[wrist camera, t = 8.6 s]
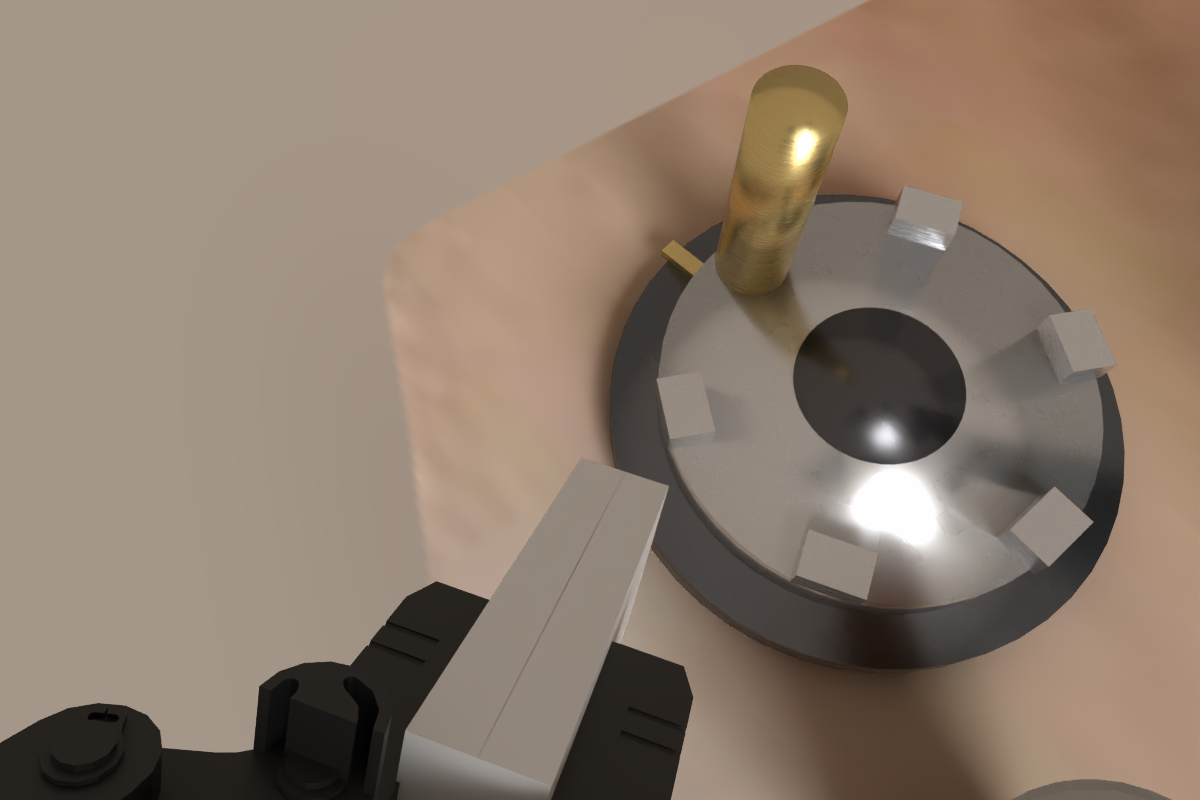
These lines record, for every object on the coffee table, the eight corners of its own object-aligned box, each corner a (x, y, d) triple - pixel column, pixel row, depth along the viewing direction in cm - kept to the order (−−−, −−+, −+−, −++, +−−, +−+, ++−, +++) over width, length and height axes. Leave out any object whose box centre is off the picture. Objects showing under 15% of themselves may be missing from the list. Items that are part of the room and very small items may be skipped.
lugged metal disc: (1167, 428, 37) (1404, 283, 26) (877, 716, 33) (1017, 687, 22) (855, 162, 43) (943, -50, 32) (569, 378, 38) (557, 217, 27)
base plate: (1129, 284, 42) (1152, 263, 40) (1073, 752, 34) (1099, 751, 32) (688, 164, 45) (692, 139, 43) (539, 570, 37) (536, 560, 35)
